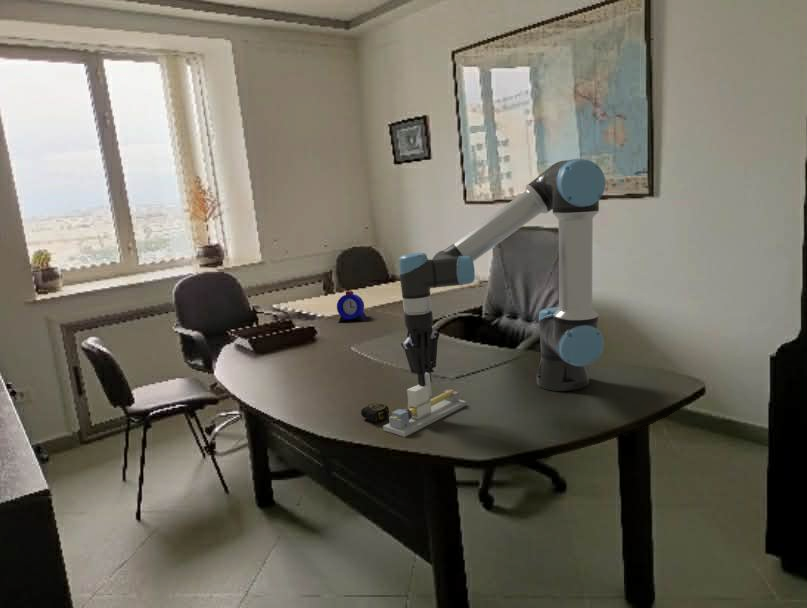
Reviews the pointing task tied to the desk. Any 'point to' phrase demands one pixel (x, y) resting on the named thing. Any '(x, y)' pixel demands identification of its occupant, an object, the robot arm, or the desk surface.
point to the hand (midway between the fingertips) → (426, 395)
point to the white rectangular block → (419, 401)
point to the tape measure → (375, 412)
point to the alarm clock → (350, 307)
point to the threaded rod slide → (440, 407)
